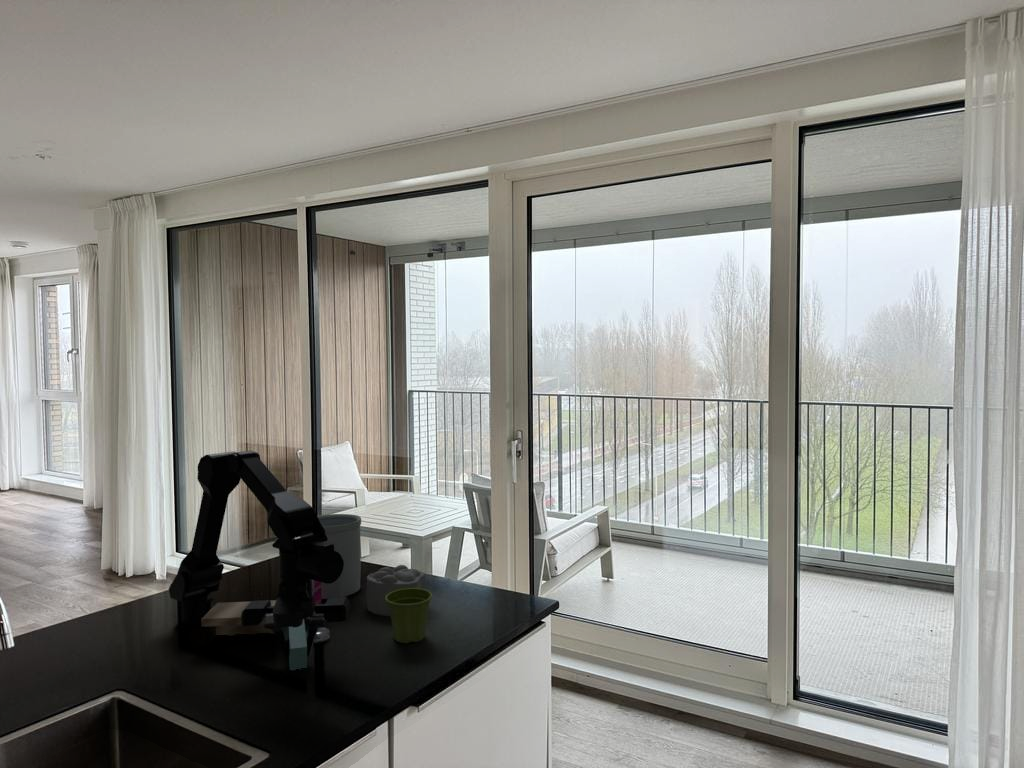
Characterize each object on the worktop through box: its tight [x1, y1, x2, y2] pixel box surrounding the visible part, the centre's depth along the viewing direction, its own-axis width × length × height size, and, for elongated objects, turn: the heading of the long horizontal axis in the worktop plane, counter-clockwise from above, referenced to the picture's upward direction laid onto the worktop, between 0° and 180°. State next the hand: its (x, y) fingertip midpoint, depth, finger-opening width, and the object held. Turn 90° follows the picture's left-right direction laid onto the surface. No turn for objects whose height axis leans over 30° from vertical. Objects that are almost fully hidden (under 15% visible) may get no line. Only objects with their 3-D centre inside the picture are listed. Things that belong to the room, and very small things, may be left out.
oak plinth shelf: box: [201, 599, 276, 636], centre depth 140 cm, size 15×9×6 cm, turn 95°
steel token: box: [305, 627, 331, 644], centre depth 141 cm, size 5×5×2 cm
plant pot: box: [385, 588, 433, 644], centre depth 141 cm, size 9×9×9 cm
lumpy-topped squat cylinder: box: [366, 564, 427, 617], centre depth 158 cm, size 10×13×9 cm
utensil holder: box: [299, 513, 362, 600], centre depth 171 cm, size 15×15×18 cm
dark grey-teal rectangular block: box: [288, 619, 308, 671], centre depth 135 cm, size 3×17×4 cm, turn 19°
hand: (297, 656), depth 130 cm, fingers closed on dark grey-teal rectangular block, 3 cm apart
